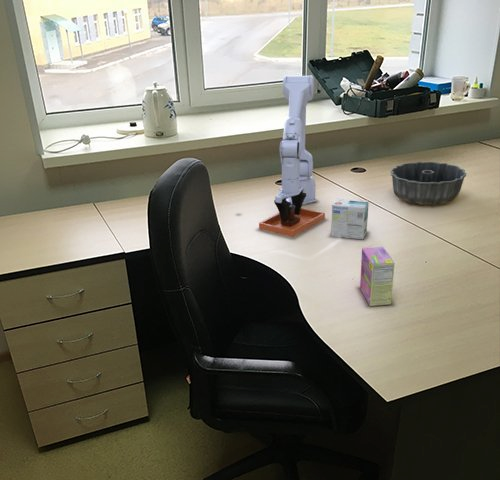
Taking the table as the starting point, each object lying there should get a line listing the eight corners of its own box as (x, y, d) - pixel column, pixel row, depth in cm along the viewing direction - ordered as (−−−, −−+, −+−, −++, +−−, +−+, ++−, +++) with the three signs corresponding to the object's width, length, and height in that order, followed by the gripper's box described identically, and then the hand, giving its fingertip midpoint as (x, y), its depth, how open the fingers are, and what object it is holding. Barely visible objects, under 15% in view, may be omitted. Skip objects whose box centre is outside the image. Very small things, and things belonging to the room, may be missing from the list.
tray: (292, 212, 209) (292, 205, 207) (324, 220, 201) (325, 213, 200) (259, 230, 195) (258, 222, 194) (292, 238, 188) (292, 231, 187)
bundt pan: (381, 206, 211) (384, 178, 206) (395, 184, 232) (397, 158, 226) (458, 213, 202) (462, 185, 197) (465, 190, 223) (469, 163, 217)
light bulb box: (367, 232, 191) (369, 200, 185) (363, 240, 185) (366, 207, 180) (334, 229, 194) (336, 197, 188) (330, 236, 188) (331, 204, 183)
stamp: (290, 219, 201) (290, 202, 198) (299, 222, 199) (300, 204, 196) (280, 224, 198) (280, 206, 194) (290, 227, 195) (290, 209, 192)
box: (359, 288, 158) (361, 247, 151) (379, 286, 158) (383, 246, 152) (368, 306, 149) (372, 264, 143) (391, 305, 149) (395, 262, 143)
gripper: (292, 170, 197) (292, 208, 204) (267, 181, 187) (268, 221, 195) (310, 173, 193) (309, 212, 200) (285, 184, 184) (285, 225, 191)
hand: (290, 217), depth 197 cm, fingers open, 7 cm apart
